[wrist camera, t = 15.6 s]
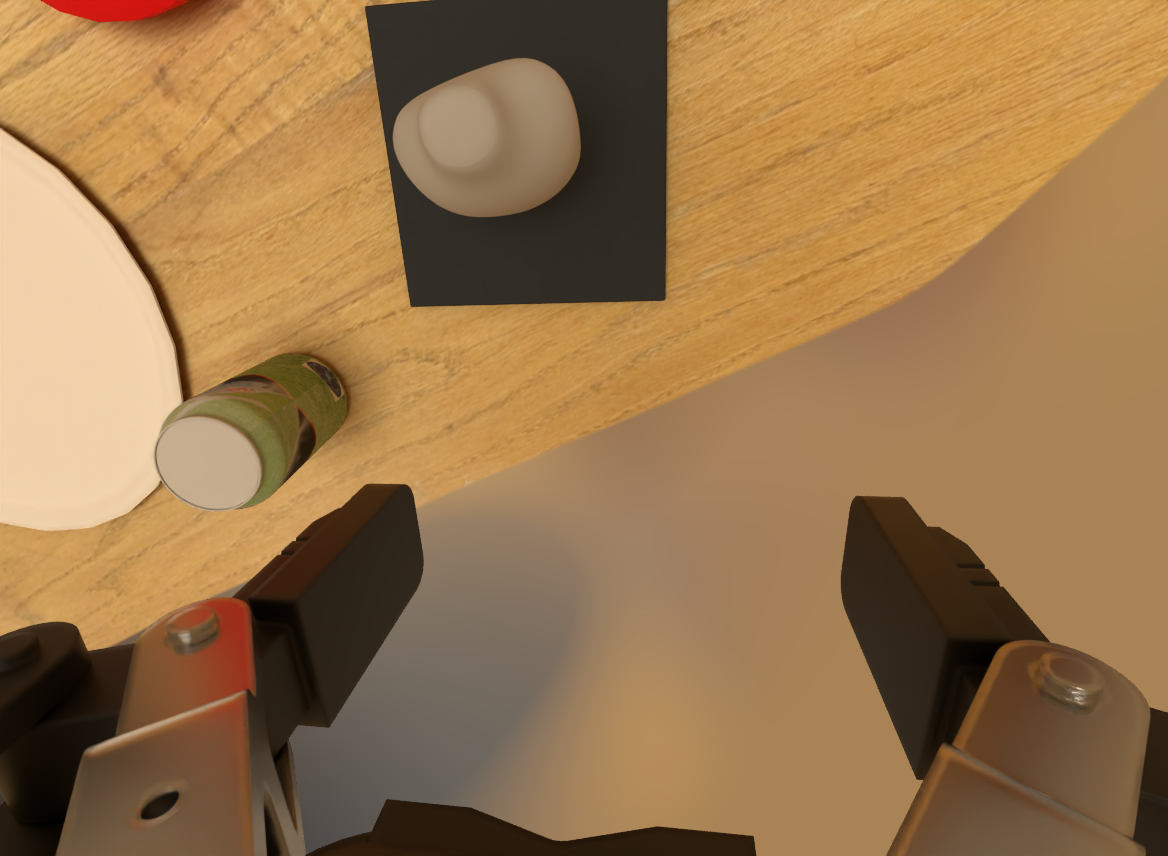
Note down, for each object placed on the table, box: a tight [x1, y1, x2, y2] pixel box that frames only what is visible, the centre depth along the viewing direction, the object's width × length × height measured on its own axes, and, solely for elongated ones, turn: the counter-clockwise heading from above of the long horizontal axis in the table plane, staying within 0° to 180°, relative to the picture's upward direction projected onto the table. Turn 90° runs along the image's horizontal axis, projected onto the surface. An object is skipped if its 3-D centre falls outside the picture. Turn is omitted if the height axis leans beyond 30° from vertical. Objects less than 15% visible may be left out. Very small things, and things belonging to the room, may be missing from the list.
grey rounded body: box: [393, 58, 581, 217], centre depth 26 cm, size 8×5×12 cm
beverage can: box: [153, 353, 347, 512], centre depth 33 cm, size 6×7×12 cm
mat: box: [365, 0, 667, 307], centre depth 32 cm, size 15×15×1 cm
